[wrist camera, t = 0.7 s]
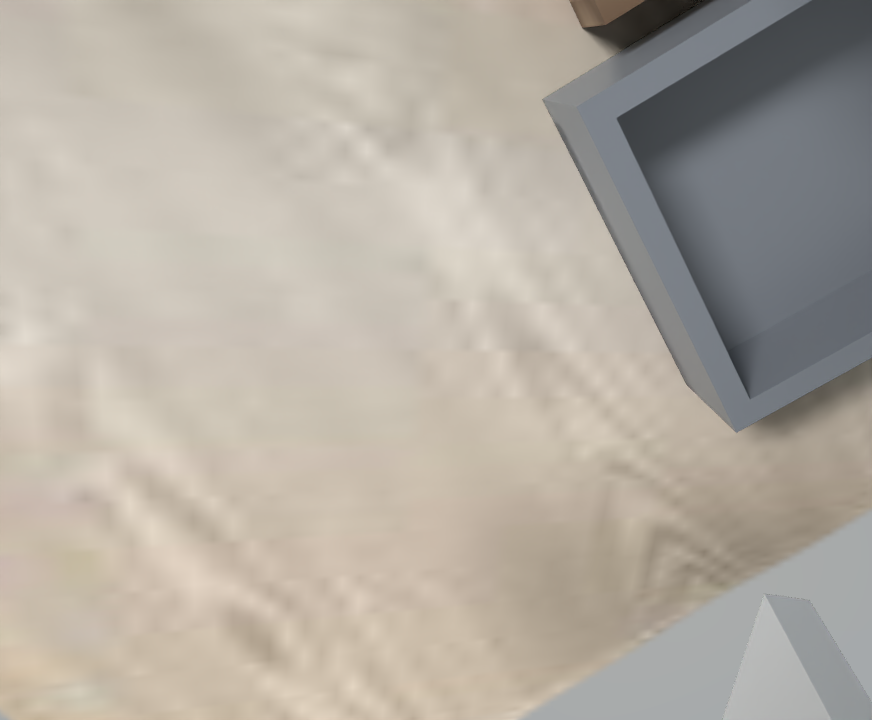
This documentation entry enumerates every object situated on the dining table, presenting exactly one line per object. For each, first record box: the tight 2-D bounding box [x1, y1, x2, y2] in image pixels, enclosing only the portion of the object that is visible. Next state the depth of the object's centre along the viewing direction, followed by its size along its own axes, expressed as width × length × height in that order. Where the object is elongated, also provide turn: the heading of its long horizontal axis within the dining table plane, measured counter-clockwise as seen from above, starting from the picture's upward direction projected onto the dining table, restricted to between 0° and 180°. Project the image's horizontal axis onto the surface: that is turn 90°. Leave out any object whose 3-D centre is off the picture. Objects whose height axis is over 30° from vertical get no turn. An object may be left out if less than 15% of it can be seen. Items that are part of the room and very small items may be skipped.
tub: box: [542, 0, 872, 433], centre depth 31 cm, size 14×16×5 cm
